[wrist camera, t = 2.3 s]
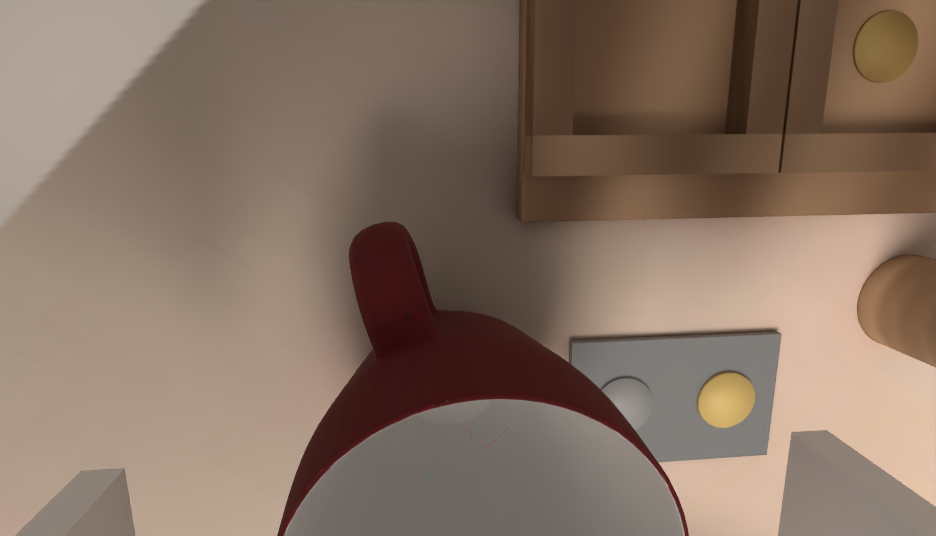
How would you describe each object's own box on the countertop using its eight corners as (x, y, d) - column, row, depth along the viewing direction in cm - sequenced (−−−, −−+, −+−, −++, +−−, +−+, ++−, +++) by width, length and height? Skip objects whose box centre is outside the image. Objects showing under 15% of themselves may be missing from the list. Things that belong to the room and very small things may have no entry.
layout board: (517, 218, 19) (529, 227, 17) (521, -148, 17) (536, -186, 15) (941, 209, 21) (996, 216, 19) (1002, -126, 18) (1072, -158, 16)
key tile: (565, 464, 21) (569, 471, 21) (570, 340, 20) (573, 345, 20) (761, 450, 22) (769, 457, 22) (776, 331, 21) (785, 335, 21)
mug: (250, 272, 19) (81, 415, 9) (465, 158, 19) (530, 179, 9) (403, 510, 21) (400, 823, 11) (592, 412, 21) (750, 642, 11)
